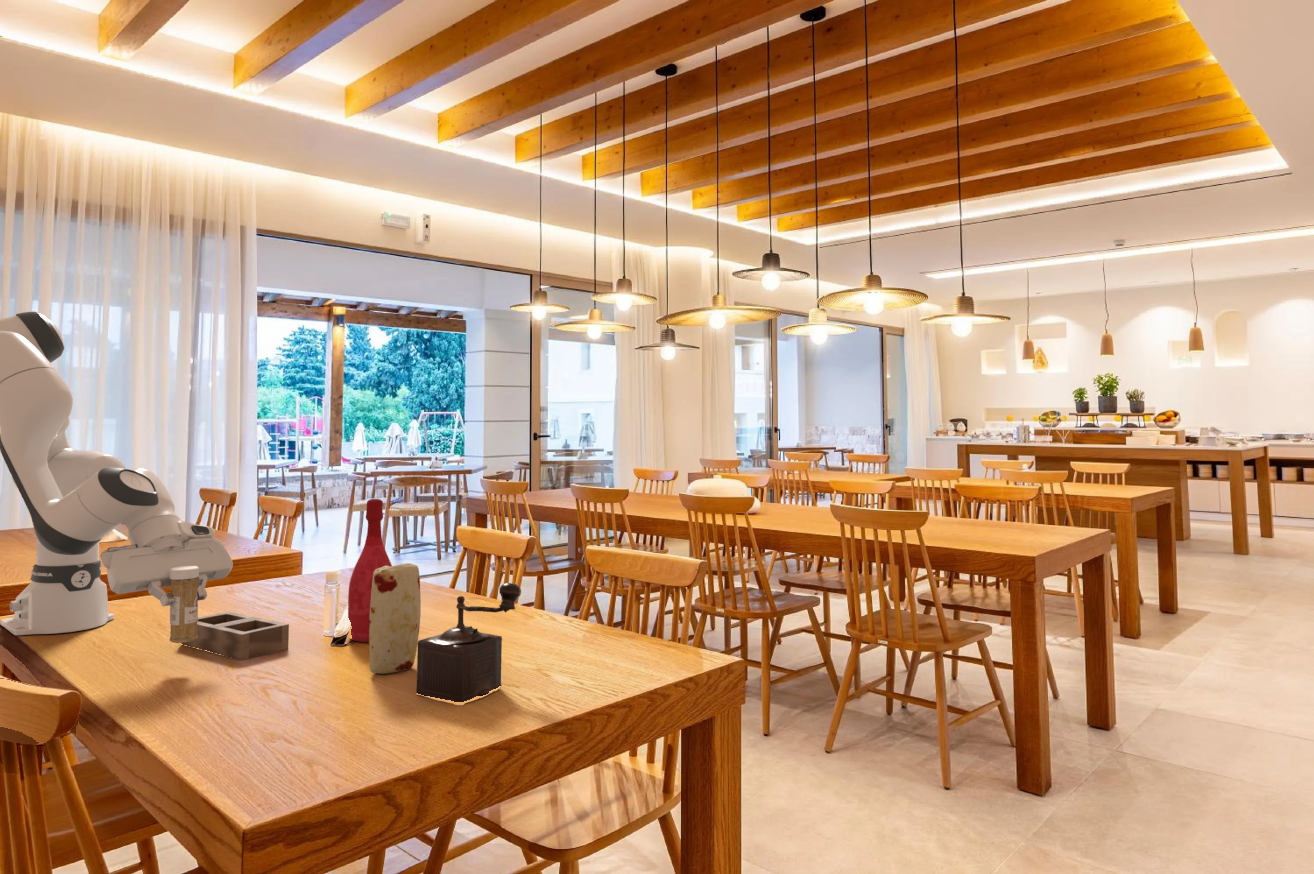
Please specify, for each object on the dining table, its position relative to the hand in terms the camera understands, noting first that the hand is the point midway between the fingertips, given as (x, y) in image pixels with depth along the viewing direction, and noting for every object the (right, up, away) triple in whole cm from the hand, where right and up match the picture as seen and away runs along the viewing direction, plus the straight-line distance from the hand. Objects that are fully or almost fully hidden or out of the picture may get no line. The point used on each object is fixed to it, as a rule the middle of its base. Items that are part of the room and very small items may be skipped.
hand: (185, 601), depth 141 cm
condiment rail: (0, -13, +16) cm, 21 cm away
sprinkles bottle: (-1, -7, 0) cm, 8 cm away
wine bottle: (+25, -14, +25) cm, 38 cm away
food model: (+37, -14, +3) cm, 40 cm away
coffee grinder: (+54, -14, -7) cm, 56 cm away
